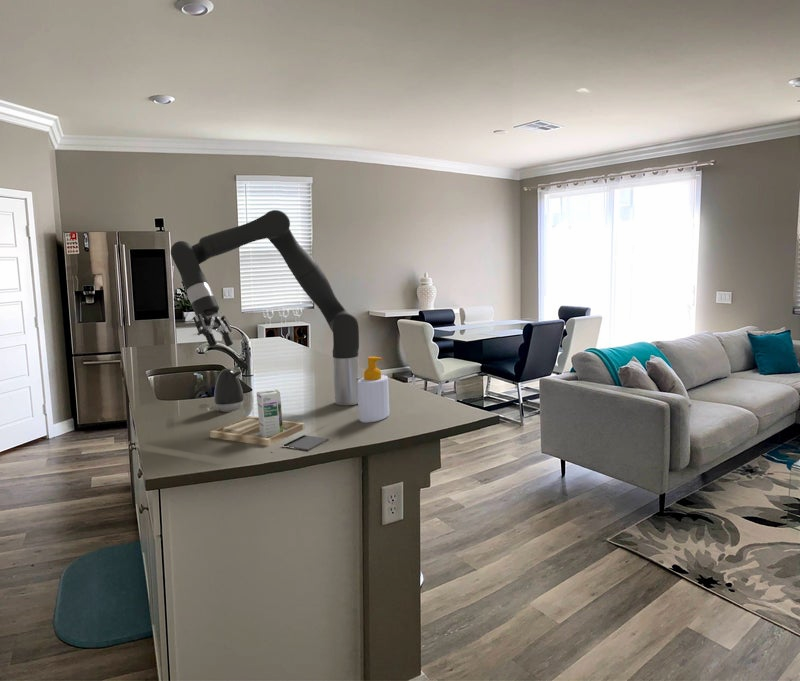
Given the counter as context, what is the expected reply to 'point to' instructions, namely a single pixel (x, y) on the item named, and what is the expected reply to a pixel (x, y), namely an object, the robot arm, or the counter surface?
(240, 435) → the offcut rack
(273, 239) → the robot arm
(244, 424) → the offcut top
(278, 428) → the syrup box
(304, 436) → the pad
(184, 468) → the counter surface
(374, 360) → the soap bottle
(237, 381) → the dark grey tapered dome
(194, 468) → the counter surface
